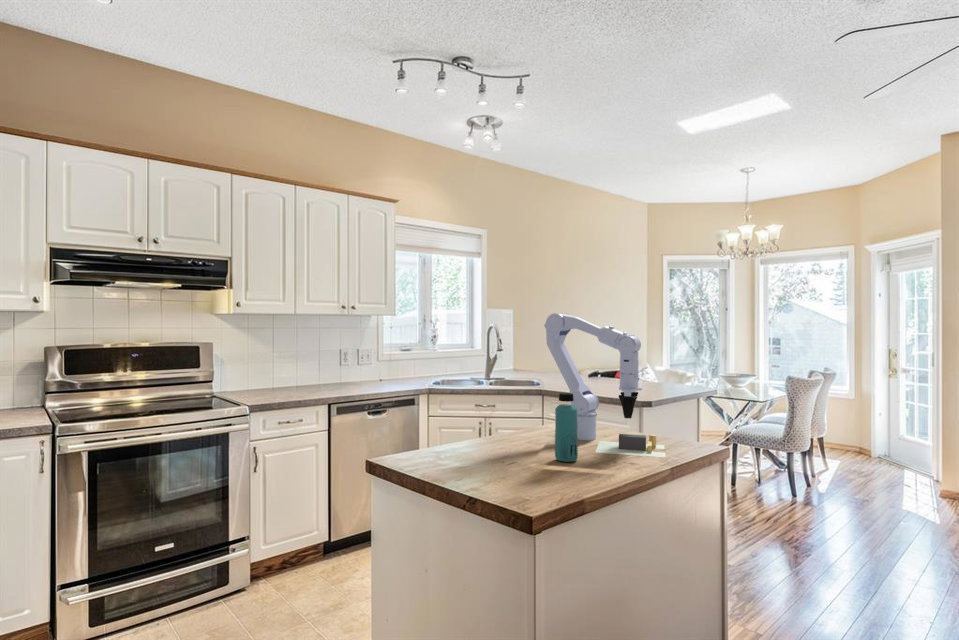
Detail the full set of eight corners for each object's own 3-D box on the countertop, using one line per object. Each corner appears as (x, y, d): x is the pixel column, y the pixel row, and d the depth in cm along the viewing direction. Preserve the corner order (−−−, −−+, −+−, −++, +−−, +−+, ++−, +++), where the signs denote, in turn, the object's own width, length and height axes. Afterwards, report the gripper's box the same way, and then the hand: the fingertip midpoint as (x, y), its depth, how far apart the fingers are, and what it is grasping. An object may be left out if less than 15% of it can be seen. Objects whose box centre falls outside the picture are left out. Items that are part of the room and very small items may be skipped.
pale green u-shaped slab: (595, 455, 166) (595, 440, 166) (599, 443, 181) (599, 430, 181) (665, 460, 160) (665, 445, 160) (664, 448, 175) (664, 434, 175)
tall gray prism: (618, 449, 170) (618, 436, 170) (619, 446, 173) (619, 433, 173) (645, 451, 168) (646, 437, 168) (645, 448, 171) (645, 435, 171)
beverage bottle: (571, 468, 152) (571, 395, 152) (550, 464, 156) (550, 393, 156) (582, 463, 157) (582, 392, 157) (561, 459, 161) (561, 390, 161)
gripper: (641, 376, 169) (640, 420, 169) (642, 371, 183) (642, 413, 183) (617, 375, 171) (617, 419, 171) (620, 371, 185) (620, 411, 185)
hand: (628, 416), depth 177 cm, fingers open, 7 cm apart
